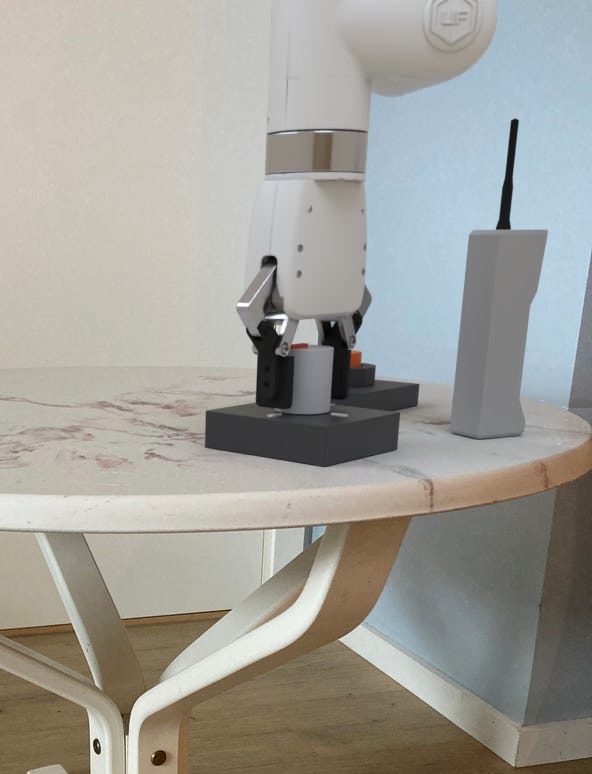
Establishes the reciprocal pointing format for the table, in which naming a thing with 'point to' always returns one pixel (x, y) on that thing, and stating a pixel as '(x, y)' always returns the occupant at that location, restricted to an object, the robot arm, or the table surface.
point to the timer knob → (311, 379)
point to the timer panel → (303, 433)
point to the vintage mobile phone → (496, 321)
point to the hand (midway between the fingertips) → (302, 400)
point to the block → (377, 391)
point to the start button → (355, 358)
